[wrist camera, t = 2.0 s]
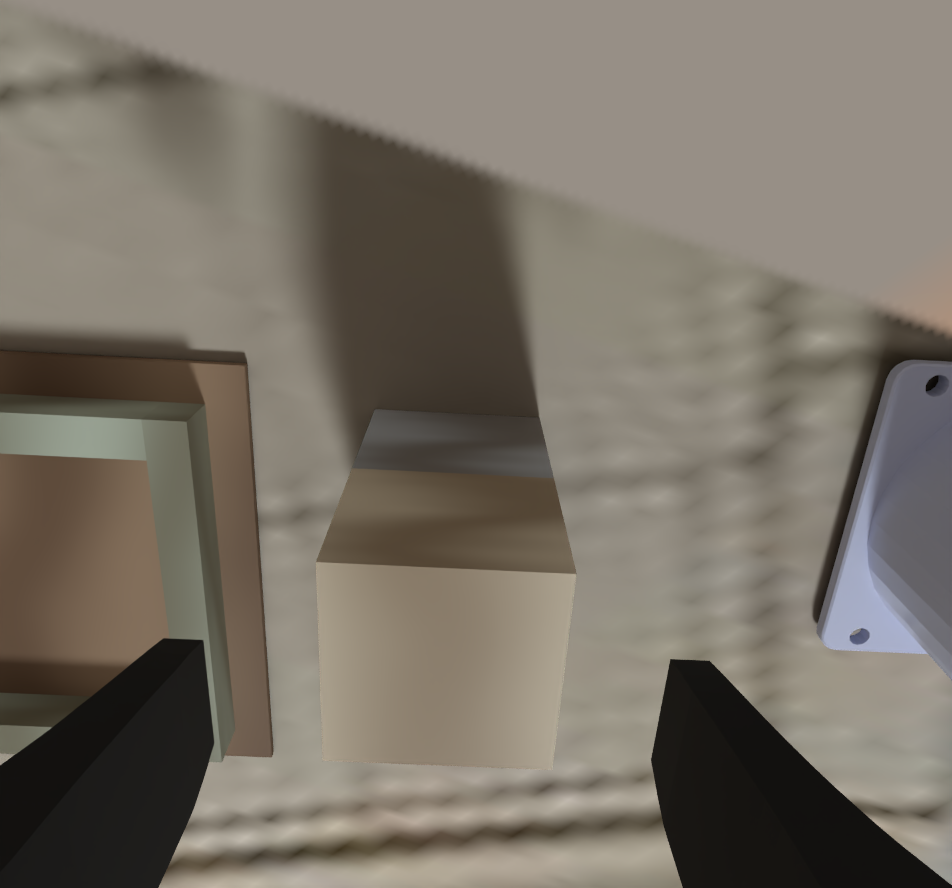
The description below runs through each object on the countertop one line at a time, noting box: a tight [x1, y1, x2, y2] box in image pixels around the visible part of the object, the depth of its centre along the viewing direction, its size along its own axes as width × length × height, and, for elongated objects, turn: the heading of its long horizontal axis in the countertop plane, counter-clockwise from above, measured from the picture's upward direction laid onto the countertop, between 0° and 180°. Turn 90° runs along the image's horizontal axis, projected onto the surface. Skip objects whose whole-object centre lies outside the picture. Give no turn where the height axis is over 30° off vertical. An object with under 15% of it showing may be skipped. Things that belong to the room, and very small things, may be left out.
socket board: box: [0, 351, 273, 762], centre depth 19 cm, size 12×12×1 cm
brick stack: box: [316, 409, 577, 770], centre depth 15 cm, size 4×4×7 cm
